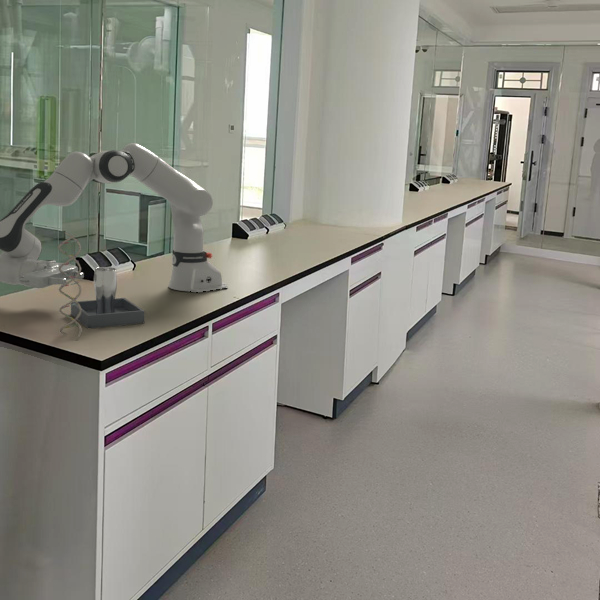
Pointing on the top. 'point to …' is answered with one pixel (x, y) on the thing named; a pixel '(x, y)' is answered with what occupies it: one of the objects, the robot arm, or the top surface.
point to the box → (108, 314)
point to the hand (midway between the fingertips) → (73, 278)
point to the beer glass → (105, 289)
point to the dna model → (71, 284)
